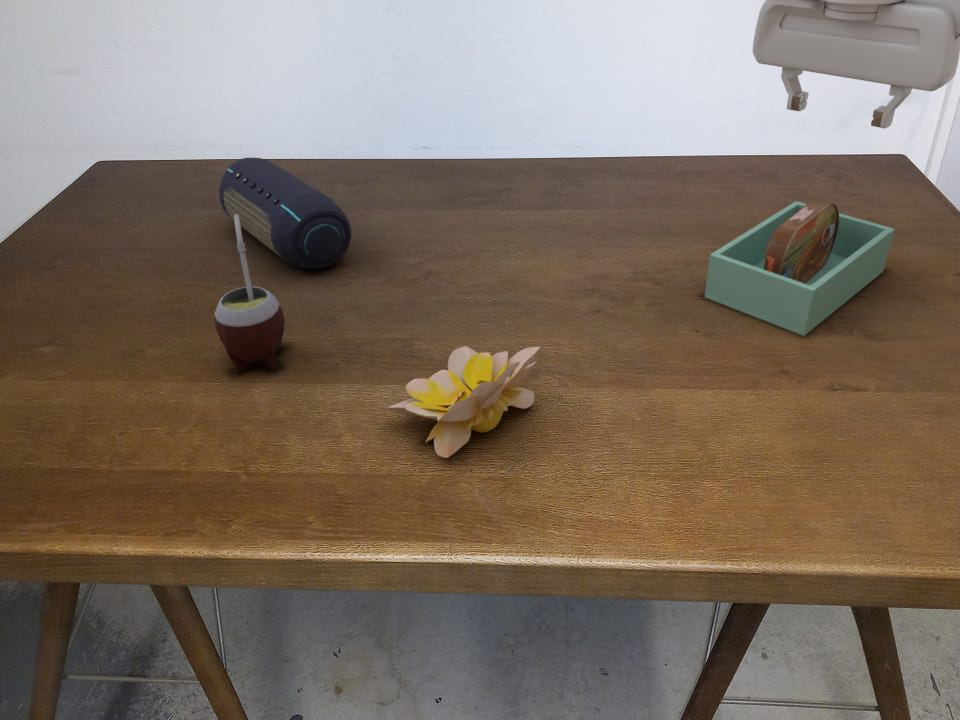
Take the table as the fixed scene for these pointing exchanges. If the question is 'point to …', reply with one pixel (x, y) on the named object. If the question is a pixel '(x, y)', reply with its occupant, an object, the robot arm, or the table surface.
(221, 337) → the mate gourd
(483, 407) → the decorative flower
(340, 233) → the portable speaker
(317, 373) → the table surface
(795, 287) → the bin
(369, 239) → the table surface
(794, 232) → the tin
